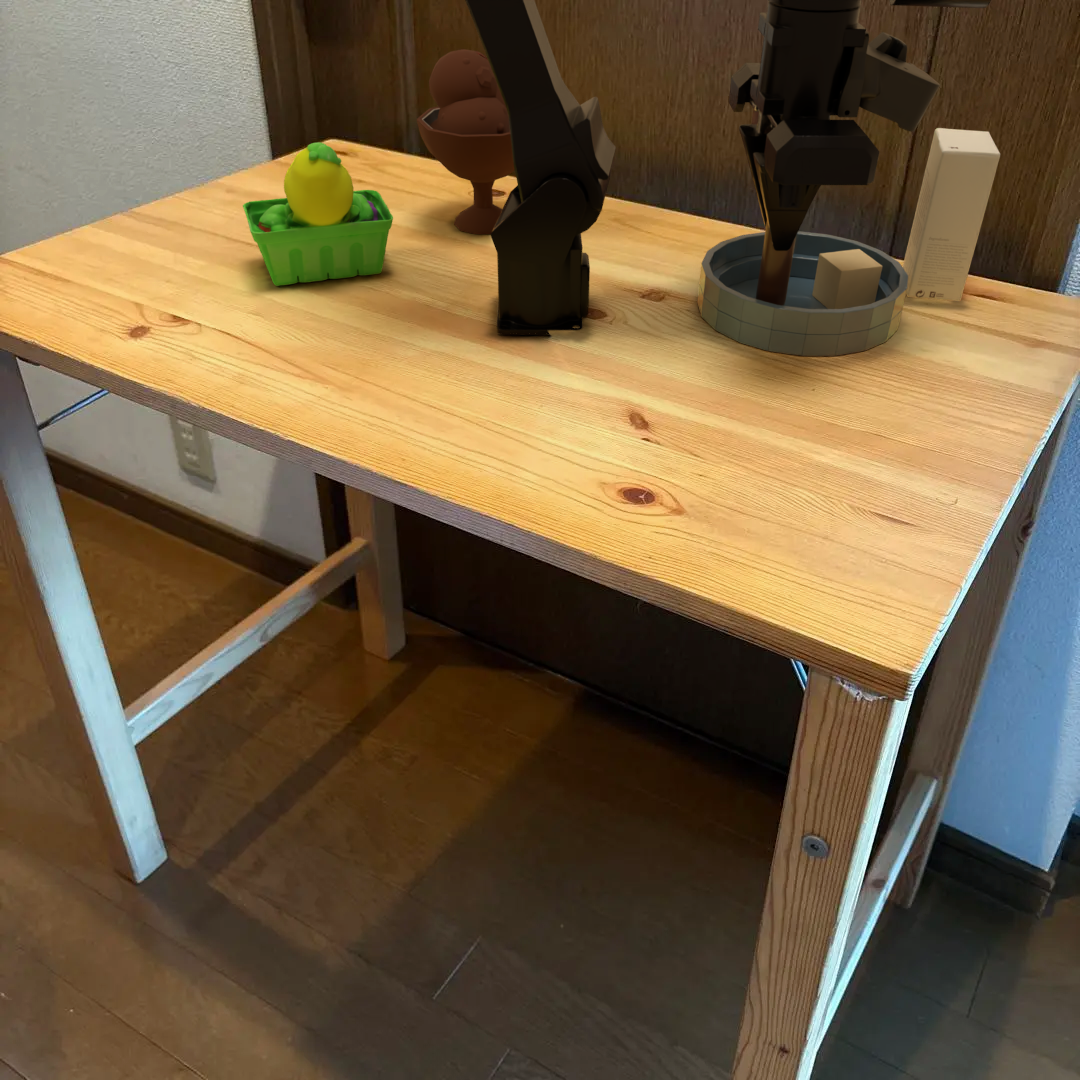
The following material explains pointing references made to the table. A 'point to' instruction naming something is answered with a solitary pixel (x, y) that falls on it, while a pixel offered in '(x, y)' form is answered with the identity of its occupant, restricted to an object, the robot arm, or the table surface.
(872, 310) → the bowl
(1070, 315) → the table surface
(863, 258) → the block
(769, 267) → the stick
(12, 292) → the table surface
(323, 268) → the fruit basket
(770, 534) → the table surface
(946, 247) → the cosmetic box
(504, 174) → the ice cream bowl
